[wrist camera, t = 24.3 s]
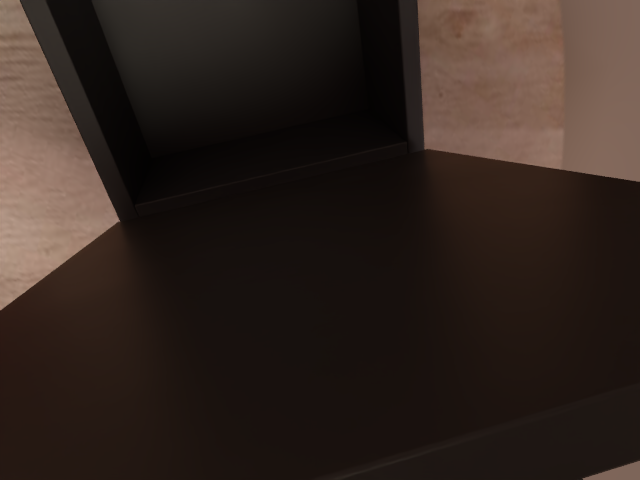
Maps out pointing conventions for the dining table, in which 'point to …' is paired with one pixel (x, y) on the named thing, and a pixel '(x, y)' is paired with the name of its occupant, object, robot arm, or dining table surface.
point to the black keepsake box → (232, 91)
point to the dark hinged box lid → (340, 333)
